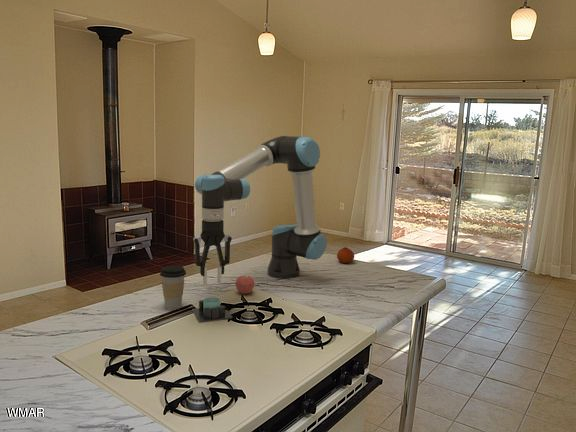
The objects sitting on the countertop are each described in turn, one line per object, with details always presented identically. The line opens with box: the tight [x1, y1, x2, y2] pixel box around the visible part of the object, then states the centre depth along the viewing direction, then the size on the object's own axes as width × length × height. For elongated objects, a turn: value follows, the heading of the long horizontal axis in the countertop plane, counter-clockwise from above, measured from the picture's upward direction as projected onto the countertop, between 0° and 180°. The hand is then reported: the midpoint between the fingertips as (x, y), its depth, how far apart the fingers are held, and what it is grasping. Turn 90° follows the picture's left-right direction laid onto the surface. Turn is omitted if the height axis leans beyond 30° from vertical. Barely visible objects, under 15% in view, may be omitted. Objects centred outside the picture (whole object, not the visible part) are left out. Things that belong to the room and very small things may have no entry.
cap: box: [202, 296, 221, 314], centre depth 172 cm, size 6×6×5 cm
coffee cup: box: [159, 265, 187, 311], centre depth 177 cm, size 9×9×15 cm
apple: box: [235, 274, 255, 295], centre depth 195 cm, size 7×7×8 cm
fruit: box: [336, 247, 355, 264], centre depth 246 cm, size 9×9×8 cm
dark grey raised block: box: [191, 299, 233, 324], centre depth 173 cm, size 12×12×4 cm
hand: (212, 283), depth 171 cm, fingers open, 5 cm apart
